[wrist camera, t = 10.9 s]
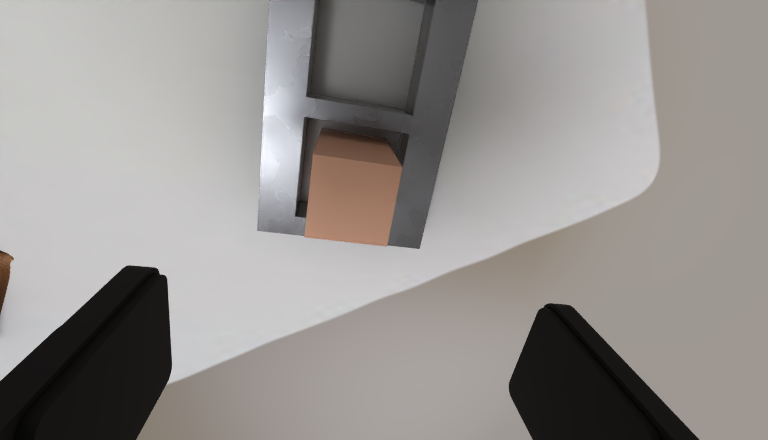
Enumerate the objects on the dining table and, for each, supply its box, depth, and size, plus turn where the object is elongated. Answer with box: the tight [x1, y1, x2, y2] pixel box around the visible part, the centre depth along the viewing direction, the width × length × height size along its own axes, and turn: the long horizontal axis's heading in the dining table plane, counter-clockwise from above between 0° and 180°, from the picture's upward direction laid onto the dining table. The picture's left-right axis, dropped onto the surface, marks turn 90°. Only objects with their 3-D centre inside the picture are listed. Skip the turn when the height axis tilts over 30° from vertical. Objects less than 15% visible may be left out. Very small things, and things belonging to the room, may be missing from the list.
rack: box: [257, 0, 478, 249], centre depth 22 cm, size 24×11×3 cm, turn 170°
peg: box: [304, 129, 403, 246], centre depth 22 cm, size 4×4×8 cm
